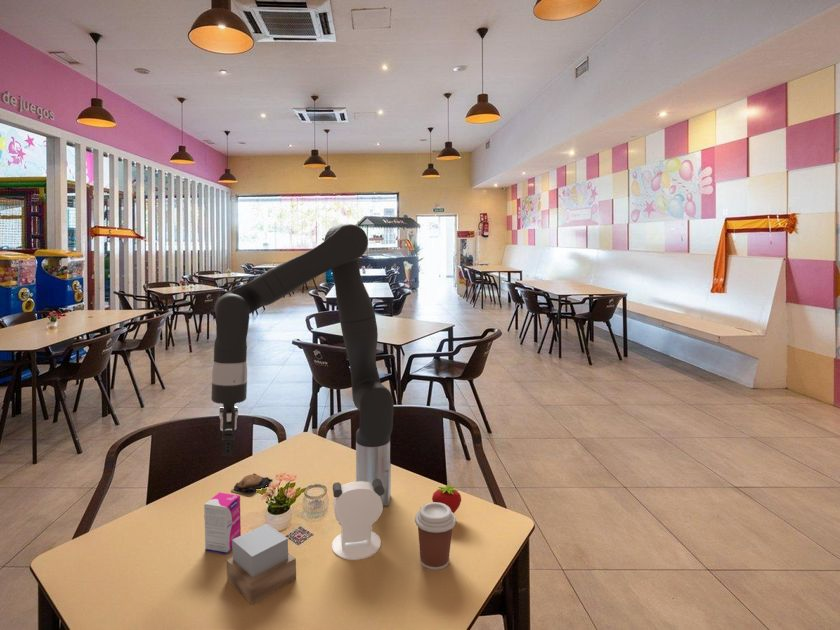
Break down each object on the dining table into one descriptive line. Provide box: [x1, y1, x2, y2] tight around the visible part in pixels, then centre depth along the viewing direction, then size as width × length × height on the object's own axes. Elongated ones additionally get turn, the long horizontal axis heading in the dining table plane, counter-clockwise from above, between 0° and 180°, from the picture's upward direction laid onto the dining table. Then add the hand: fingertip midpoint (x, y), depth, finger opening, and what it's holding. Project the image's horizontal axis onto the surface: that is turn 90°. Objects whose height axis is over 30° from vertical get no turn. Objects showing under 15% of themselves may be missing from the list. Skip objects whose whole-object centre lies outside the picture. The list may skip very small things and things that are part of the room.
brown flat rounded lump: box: [230, 473, 274, 498], centre depth 138 cm, size 11×8×4 cm
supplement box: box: [203, 492, 242, 555], centre depth 110 cm, size 6×6×12 cm
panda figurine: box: [331, 479, 385, 561], centre depth 111 cm, size 12×11×15 cm
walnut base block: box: [225, 552, 297, 606], centre depth 99 cm, size 10×10×5 cm
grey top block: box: [231, 523, 289, 577], centre depth 99 cm, size 8×8×4 cm
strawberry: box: [431, 481, 462, 514], centre depth 123 cm, size 6×8×10 cm
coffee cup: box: [414, 501, 457, 571], centre depth 106 cm, size 9×9×12 cm
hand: (227, 448), depth 111 cm, fingers open, 8 cm apart
